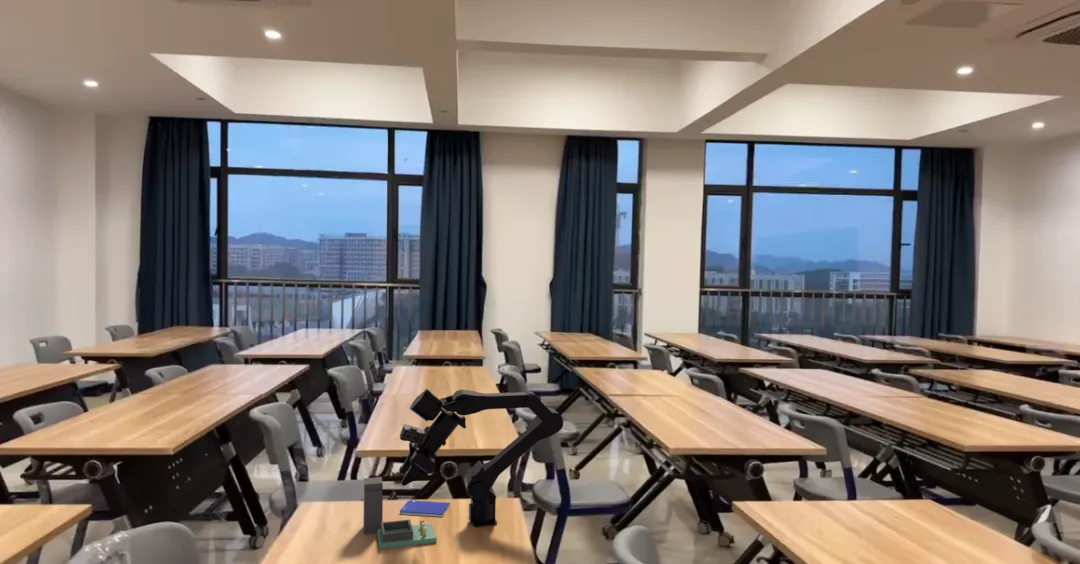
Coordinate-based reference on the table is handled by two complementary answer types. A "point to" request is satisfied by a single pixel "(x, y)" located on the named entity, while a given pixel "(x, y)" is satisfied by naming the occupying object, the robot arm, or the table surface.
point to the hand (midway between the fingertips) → (402, 478)
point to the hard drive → (425, 508)
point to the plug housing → (373, 504)
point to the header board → (405, 534)
